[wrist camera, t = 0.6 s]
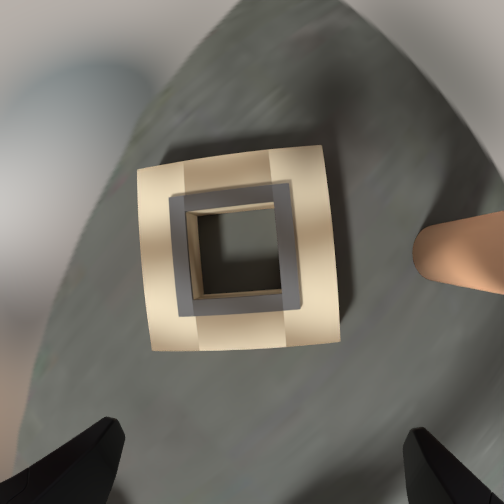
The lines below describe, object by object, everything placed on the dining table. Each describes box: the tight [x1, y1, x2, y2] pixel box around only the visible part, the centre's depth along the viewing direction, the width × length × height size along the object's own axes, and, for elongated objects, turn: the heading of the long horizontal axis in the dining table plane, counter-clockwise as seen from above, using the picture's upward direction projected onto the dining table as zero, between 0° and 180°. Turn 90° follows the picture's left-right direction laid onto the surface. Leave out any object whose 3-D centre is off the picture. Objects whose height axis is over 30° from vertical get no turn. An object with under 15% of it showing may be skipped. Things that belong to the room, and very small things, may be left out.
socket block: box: [137, 145, 340, 351], centre depth 20 cm, size 12×12×3 cm
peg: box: [412, 211, 504, 295], centre depth 14 cm, size 4×4×12 cm
